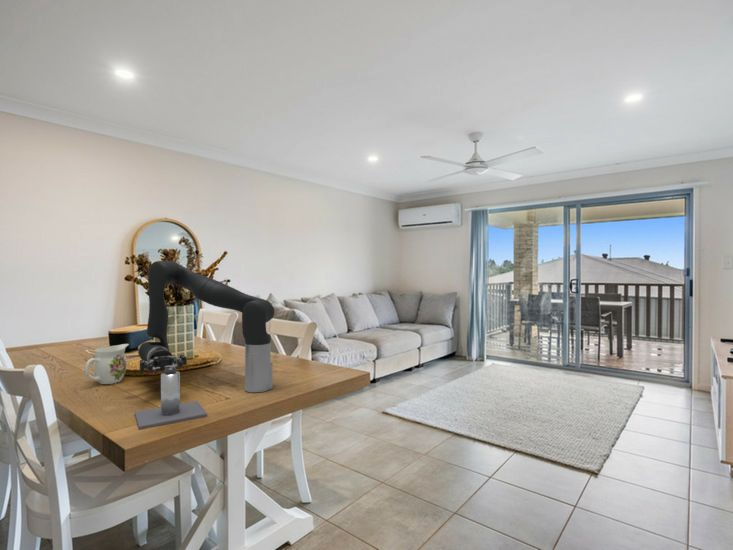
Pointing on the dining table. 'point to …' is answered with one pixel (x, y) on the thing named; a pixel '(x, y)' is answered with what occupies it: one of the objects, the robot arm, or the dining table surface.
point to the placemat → (156, 419)
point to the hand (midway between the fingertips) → (166, 366)
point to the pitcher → (108, 364)
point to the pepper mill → (170, 392)
